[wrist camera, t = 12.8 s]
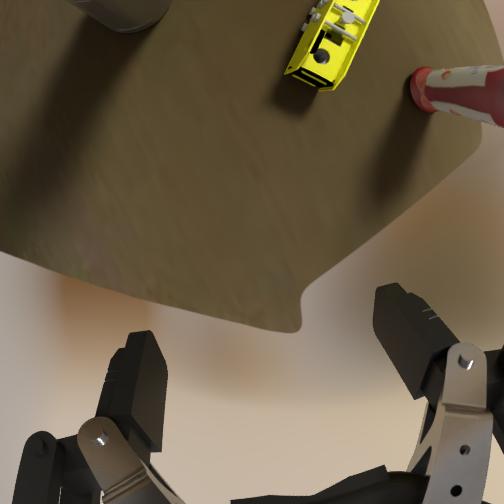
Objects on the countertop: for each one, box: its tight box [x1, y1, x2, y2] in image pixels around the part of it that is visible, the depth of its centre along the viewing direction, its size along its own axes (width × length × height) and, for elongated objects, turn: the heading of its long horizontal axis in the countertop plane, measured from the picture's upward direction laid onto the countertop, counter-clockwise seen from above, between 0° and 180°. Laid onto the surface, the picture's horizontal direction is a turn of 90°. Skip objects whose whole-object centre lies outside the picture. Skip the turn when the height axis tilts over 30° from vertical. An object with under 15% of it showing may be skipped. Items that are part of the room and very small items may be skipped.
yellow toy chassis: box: [284, 0, 380, 91], centre depth 27 cm, size 16×6×8 cm, turn 156°
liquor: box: [410, 65, 504, 128], centre depth 22 cm, size 7×7×28 cm
